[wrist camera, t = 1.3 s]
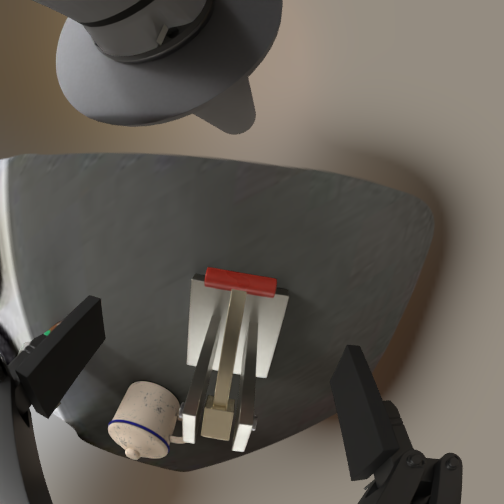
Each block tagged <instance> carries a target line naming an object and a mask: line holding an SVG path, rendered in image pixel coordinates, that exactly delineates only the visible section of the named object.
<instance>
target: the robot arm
mask: <svg viewBox="0 0 504 504" xmlns="http://www.w3.org/2000/svg"><path fill="white" fill-rule="evenodd" d="M33 1H35V2H37V3H40V4H42V5H45V6H47V7H49V8H51V9H53V10H55V11H57V12H60V13H61V14H63V15H65V16H67V17H69V18H71V19H73V20H75V21H77V22H79V23H80V24H82V25H83V26H84V27H85V29H86V30H87V32H88V33H89V34H90V35H91V39H92V41H93V43H94V45H95V46H96V48H97V49H98V50H99V51H100V52H101V53H102V54H103V55H105V56H106V57H108V58H110V59H112V60H114V61H116V62H119V63H123V64H143V63H148V62H152V61H155V60H158V59H161V58H163V57H166V56H168V55H170V54H172V53H174V52H175V51H177V50H179V49H180V48H182V47H183V46H185V45H186V44H187V43H189V42H190V41H191V40H192V39H193V38H195V37H196V36H197V35H198V34H199V33H200V31H201V30H202V29H203V28H204V26H205V25H206V24H207V22H208V20H209V19H210V17H211V15H212V12H213V9H214V5H215V0H33ZM105 339H106V338H105V331H104V324H103V316H102V307H101V299H100V298H97V297H93V296H90V295H89V296H88V297H87V298H86V299H85V300H84V301H83V302H82V303H80V304H79V305H78V306H77V307H76V308H75V309H74V310H73V311H72V312H71V313H70V314H69V315H68V316H67V317H66V318H65V319H64V320H63V321H61V322H60V323H59V324H58V325H57V326H56V327H55V328H54V329H53V330H52V331H51V332H50V333H49V334H48V335H44V334H42V335H40V336H38V337H36V338H34V339H33V340H32V341H31V342H30V343H29V345H27V346H26V347H25V348H24V351H23V350H22V351H21V353H20V354H19V355H18V356H17V357H16V358H15V359H14V360H13V361H12V362H11V363H10V364H9V365H8V366H7V364H6V362H5V360H4V358H3V356H2V355H1V354H0V504H53V503H52V500H51V497H50V494H49V491H48V488H47V485H46V482H45V478H44V475H43V472H42V468H41V464H40V460H39V456H38V451H37V446H36V442H35V437H34V431H33V425H32V418H31V412H30V409H29V407H30V406H31V405H33V407H34V409H35V410H36V412H38V413H39V414H41V415H43V416H44V417H46V418H49V417H50V415H51V414H52V413H53V411H54V410H55V408H56V407H57V405H58V404H59V402H60V401H61V399H62V398H63V396H64V395H65V393H66V392H67V391H68V389H69V388H70V386H71V385H72V383H73V382H74V381H75V379H76V378H77V376H78V375H79V374H80V372H81V371H82V370H83V368H84V367H85V365H86V364H87V363H88V361H89V360H90V359H91V357H92V356H93V355H94V353H95V352H96V351H97V349H98V348H99V347H100V345H101V344H102V343H103V341H104V340H105ZM330 384H331V388H332V392H333V396H334V401H335V405H336V409H337V414H338V418H339V423H340V427H341V432H342V437H343V441H344V446H345V451H346V456H347V461H348V466H349V471H350V477H351V481H356V480H363V479H367V478H369V477H370V476H371V475H372V474H373V473H374V477H375V479H374V480H373V481H372V482H371V483H370V484H368V485H367V486H366V487H365V488H364V489H365V490H366V489H367V488H368V489H367V491H366V492H365V494H364V495H363V497H362V498H361V500H360V501H359V502H358V504H460V503H461V491H462V461H461V459H460V457H459V456H457V455H456V454H454V453H447V454H445V455H444V456H443V457H442V458H440V459H431V458H426V457H425V456H424V455H423V453H421V452H420V451H418V450H414V449H413V447H412V444H411V442H410V439H409V437H408V434H407V431H406V429H405V426H404V425H403V421H402V419H401V418H400V414H399V412H398V409H397V408H396V406H395V405H394V404H393V403H392V402H391V401H382V398H381V396H380V393H379V390H378V388H377V386H376V383H375V381H374V378H373V376H372V373H371V371H370V369H369V366H368V364H367V361H366V359H365V357H364V354H363V352H362V350H361V347H360V346H355V345H347V346H346V348H345V350H344V353H343V355H342V357H341V359H340V361H339V364H338V366H337V368H336V370H335V372H334V374H333V376H332V378H331V380H330Z"/></svg>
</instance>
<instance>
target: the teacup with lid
mask: <svg viewBox="0 0 504 504" xmlns="http://www.w3.org/2000/svg"><path fill="white" fill-rule="evenodd" d="M179 410H180V404H179V402H178V400H177V398H176V397H175V396H174V395H173V394H172V393H171V392H170V391H168V390H167V389H165V388H164V387H162V386H160V385H157V384H155V383H151V382H146V381H139V382H135V383H133V384H131V385H130V386H129V388H128V390H127V392H126V394H125V396H124V398H123V400H122V402H121V404H120V406H119V408H118V410H117V412H116V414H115V416H114V418H113V420H112V421H111V422H110V423H109V424H108V431H109V434H110V436H111V437H112V439H113V440H114V441H115V442H116V443H117V444H119V445H120V446H121V447H122V448H123V449H125V450H126V451H125V454H126V456H128V457H129V458H131V459H134V460H137V459H139V457H147V458H162V457H164V456H166V455H167V453H168V452H169V450H170V448H169V444H170V442H173V443H179V444H182V443H187V442H184V441H183V437H175V436H172V434H173V430H174V427H175V424H176V420H179V421H182V419H181V418H179Z"/></svg>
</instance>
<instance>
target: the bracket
mask: <svg viewBox="0 0 504 504" xmlns="http://www.w3.org/2000/svg"><path fill="white" fill-rule="evenodd" d="M204 281H205V275H200V274H195V275H194V276H193V278H192V282H191V295H190V309H189V326H188V346H187V365H192V366H196V368H195V372H194V375H193V378H192V382H191V385H190V388H189V392H188V395H187V398H186V402H185V403H183V402H182V404H181V407H180V411H179V418H181V419H182V430H183V441H184V442H189V443H193V444H195V441H196V436H197V432H198V428H199V423H200V419H201V414H202V410H203V406H204V401H205V397H206V393H207V389H208V384H209V380H210V376H211V371H212V370H217V371H218V368H219V362H220V356H221V349H222V343H223V337H224V331H225V325H226V319H227V313H228V307H229V301H230V295H231V291H226V290H220V289H215V288H209V287H205V285H204ZM288 300H289V291H288V290H287V289H281V288H276V292H275V296H274V298H267V297H261V296H255V295H249V294H247V295H246V301H245V307H244V313H243V318H242V324H241V330H240V336H239V342H238V348H237V353H236V359H235V365H234V371H233V373H234V374H241V375H240V384H239V392H238V401H237V410H236V419H235V427H234V436H233V445H232V450H233V451H241V452H244V451H245V448H246V445H247V442H248V439H249V436H250V433H251V431H255V429H256V425H257V415H254V401H255V382H256V377H262V378H267V375H268V372H269V368H270V365H271V361H272V358H273V355H274V351H275V348H276V344H277V340H278V337H279V333H280V330H281V326H282V322H283V319H284V315H285V311H286V307H287V303H288Z"/></svg>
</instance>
